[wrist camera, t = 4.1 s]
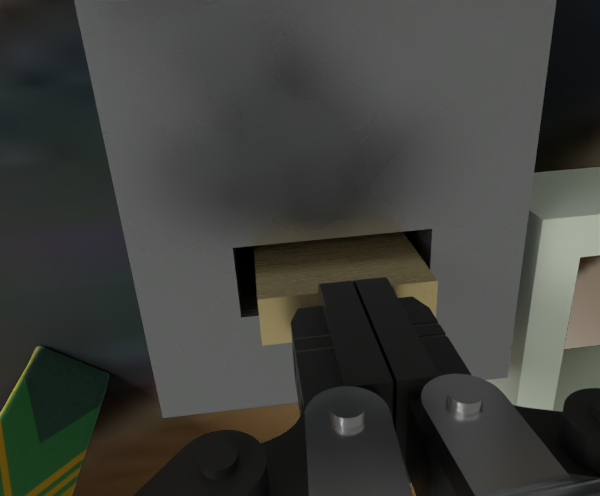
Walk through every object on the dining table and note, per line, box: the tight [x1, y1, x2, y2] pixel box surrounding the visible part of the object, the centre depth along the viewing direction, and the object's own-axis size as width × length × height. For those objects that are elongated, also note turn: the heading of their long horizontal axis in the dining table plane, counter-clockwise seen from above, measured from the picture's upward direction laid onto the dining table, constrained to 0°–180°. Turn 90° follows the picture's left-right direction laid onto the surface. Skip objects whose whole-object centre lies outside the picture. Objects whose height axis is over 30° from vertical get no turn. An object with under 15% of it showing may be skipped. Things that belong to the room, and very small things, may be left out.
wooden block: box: [254, 232, 438, 346], centre depth 15 cm, size 1×4×6 cm, turn 93°
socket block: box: [74, 0, 556, 418], centre depth 14 cm, size 18×10×5 cm, turn 3°
